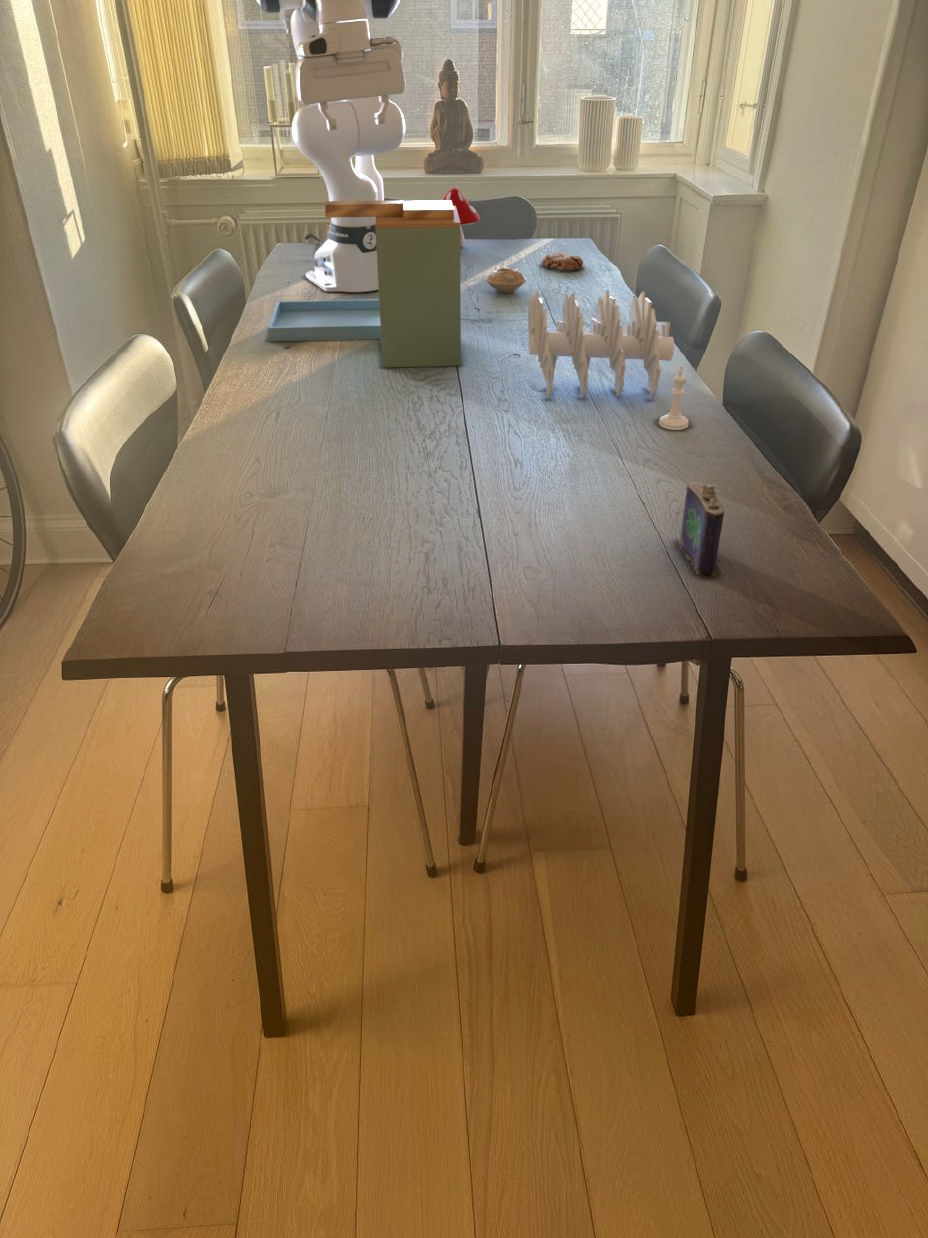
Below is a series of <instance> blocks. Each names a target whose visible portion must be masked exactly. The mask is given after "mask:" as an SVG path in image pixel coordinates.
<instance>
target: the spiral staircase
mask: <svg viewBox="0 0 928 1238" xmlns="http://www.w3.org/2000/svg"><path fill="white" fill-rule="evenodd" d="M652 305H653V302H652V301H651V299H650V298H649V297H646V291H644V290H642V291H641V293H640V294H639V295H638V297H637V295H633V296H632V301H631V305H630V308H629V312H628V317H629V322H627V323H623V324H622V325H621V315H620V309H619V308H620V307H619V305H618V304H616V298H615V297H613V296H611V295H610V290H605V293H604V295H603V297H602V296H598V298H597V302H596V306H595V307H596V308H595V313H594V317H591V318H590V325H589V331H588V332H584V320H583V319H584V317H583V315H584V314H583V313H582V312H580V307H581V306H580V303H579V301H578V299H576V293H574V292H572V293H571V294H570V296H569V294H565V295H564V300H563V304H562V310H561V317H562V318H561V319H562V320H556V331H550V330H549V331H548V330H547V329H548V318H547V317H548V316H547V309H544V302H543V299H542V297H540V291H536V292H535V294H534V295H533V294H532V295H530V296H529V303H528V309H527V323H528V324H527V325H528V326H527V327H528V355H529V356H530V355H531V356H537V361H538V363H539V369H541V371H542V374H543V377H544V380H545V382H546V398H548V399H549V398H551V395H552V392H553V388H554V377H555V370H556V363H557V360H558V358H559V357H572V365H573V369H574V370H575V372H576V375H577V378H578V381H579V390H580V393H579V394H580V395H579V396H580V399H584V397H585V395H586V393H587V392H588V379H589V368H590V367H589V366H590V362H591V358H599V359H608V360H609V368H610V369H611V370H612V372H614V388H613V392H615V396H616V397H620V396H621V393H622V390H623V388H624V385H625V378H624V377H625V373H626V367H627V365H626V362H625V361H626V360H642V361H643V368H644V370H645V372H646V373H647V385H646V386H647V387H646V391H647V392H649V398H653V397H654V396H655V393H656V392H657V390H658V388H659V381H660V376H661V371H662V369H661V366H660V361H665V362H667V361H668V362H669V361H672V359H673V357H674V352H675V339H674V337H673V336H670V328H671V322H670V321H657V316H656V308H653V307H652Z"/></svg>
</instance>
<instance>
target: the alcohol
mask: <svg viewBox="0 0 928 1238" xmlns="http://www.w3.org/2000/svg"><path fill="white" fill-rule="evenodd" d="M374 158H375V157H374V155H366V156H355V166H354V170H355V171H356V172H359V173H361V174H363V175H365V176H367V177H368V178H370V179H371V180H372V181H373V182H374V184H375V186H376V188H377V192H378V201H383V200H385V191H384V190H385V189H384V188H385V187H384V180H383V177H382V175H381V174H380V172H378V170H377V168H376V166H375V165H376V164H375V159H374Z"/></svg>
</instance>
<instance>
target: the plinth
mask: <svg viewBox="0 0 928 1238" xmlns="http://www.w3.org/2000/svg"><path fill="white" fill-rule="evenodd" d="M453 209H454V219H411V220H404V219H403V217H376V221H375V228H376V248H377V267H378V287H379V289H378V299H379V306H380V326H381V339H380V345H381V363H382V364H381V365H382V368H385V369H386V368H424V367H425V368H426V367H428V368H429V367H460V366H461V365H462V341H461V340H462V335H461V334H462V328H461V326H462V323H461V322H462V318H461V317H462V315H461V313H462V310H461V302H462V301H461V300H462V299H461V297H462V296H461V295H462V294H461V291H462V290H461V286H462V285H461V284H462V283H461V281H462V280H461V247H460V220H459V216H458V212H457V209H456V206H453Z"/></svg>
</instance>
